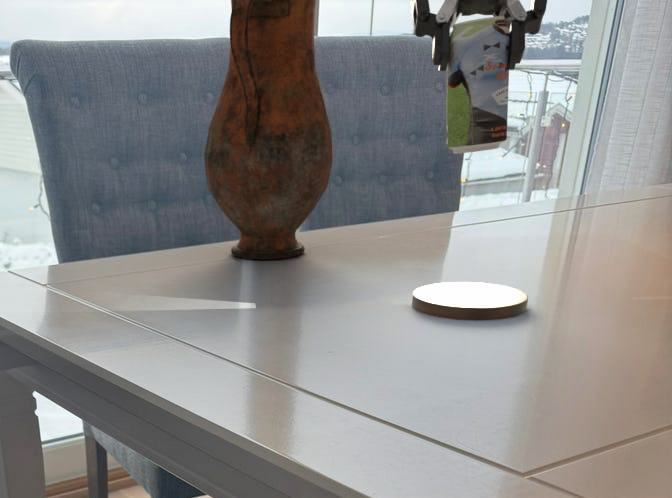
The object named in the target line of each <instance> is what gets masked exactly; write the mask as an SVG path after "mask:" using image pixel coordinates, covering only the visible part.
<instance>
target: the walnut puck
mask: <svg viewBox="0 0 672 498" xmlns="http://www.w3.org/2000/svg"><path fill="white" fill-rule="evenodd" d="M411 299H412V300H411V307H412V309H414V310H415V311H417V312H419V313H422V314H424V315H427V316H431V317H436V318H441V319H449V320H456V321H457V320H458V321H496V320H505V319H511V318H515V317H518V316H521V315H523V314H524V313H526V311H527V307H528V301H529V295H528V294H527V293H526V292H524V291H523V290H520V289H517V288H514V287H512V286H511V287H510V286H508V285H507V286H506V285H501V284H495V283H487V282H473V281H472V282H471V281H455V282H454V281H453V282H440V283H432V284H427V285H424V286H423V285H422V286H421V287H418V288H416V289H415V290H413V293H412V298H411Z"/></svg>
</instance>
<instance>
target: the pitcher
mask: <svg viewBox="0 0 672 498" xmlns="http://www.w3.org/2000/svg"><path fill="white" fill-rule="evenodd" d="M316 2H317V0H230V6H231V7H230V8H231V13H230V19H229V44H230V45H229V46H230V50H229V60H228V61H229V62H228V69H227V73H226V76H225V79H224V83H223V86H222V89H221V92H220V95H219V98H218V101H217V104H216V106H215V110H214V113H213V115H212V117H211V120H210V124H209V126H208V131H207V137H206V143H205V149H204V154H203V158H204V159H203V161H204V169H205V179H206V187H207V189H208V190H209V192H210V193H211V195H212V197H213V199H214V200H215V202H216V204H217V205H218V207H219V209H220V210H221V212H222V213H223V214H224V215H225V216H226V217H227V219H228V220H229V221H230V222H231V223H232V224H233V225H234V226H235V228H236V229H237V231H239V233H240V238H239V239H238V242H237V243H235V244H233V245H232V246H231V249H230V252H231V255H232V254H233V255H232V256H234V255H235V256H238V257H237V258H239V257H241V258H240V259H243V258H246V259H245V260H249V259H259V260H258V261H277V260H276V259H278V260H286V259H291V258H294V257H298V256H300V255H302V254H303V253H304V252H305V250H306V249H305V245H304V244H303V243H302V242H300V241H299V240H298V239H297V237H296V233H297V230H298V229H299V228H300V227H301V226H302V225H303V224H304V222H305V221H306V220H307V218H308V217H309V216H310V215H311V214H312V213H313V211H314V210H315V208H316V206H317V205H318V203H319V202H320V200H321V198H322V196H323V195H324V193H325V192H326V190H327V188H328V186H329V180H330V175H331V171H332V166H333V161H334V150H333V138H332V137H333V136H332V127H331V122H330V118H329V114H328V108H327V104H326V99H325V96H324V93H323V89H322V85H321V83H320V79H319V76H318V72H317V68H316V54H315V53H316V52H315V37H314V36H315V15H316V14H315V12H316ZM297 255H298V256H297ZM235 256H234V257H235ZM290 257H291V258H290ZM285 258H286V259H285Z"/></svg>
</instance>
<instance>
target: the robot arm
mask: <svg viewBox="0 0 672 498" xmlns="http://www.w3.org/2000/svg"><path fill="white" fill-rule="evenodd" d="M409 2H410V9H411V15H412V17H411V18H412V23H413V32H414V36H415V37H417V38H423V37H425V36H429V37H430V38H431V39H432V57H431V60H432V63H433V65H434V66H438V72H447V64H448V59H449V41H450V35H451V29H453V25H454V24H457V23H456V22H457V21H458V19H459V17H460V16H461V17H469V16H474V15H482V16H492V17H500V16H502V17H505V19H504V21H505V24H506V25H507V27H508V28H509V31H510V46H509V57H508V68H507V69H508V70H509V71H512V70H515V69H516V65H517V64H518V65H519V64H520V63H521V62H522V60H523V56H524V53H525V49H526V34H529V35H537V34H538V33H540V30H541V27H542V22H543V18H544V16H545V14H546V10H547V4H548V0H531V5H530V9H529V10H526V9H525V8H524V6H523V4H522V2H521V1H520V0H444V1H443V3H442V5H441V7H440V8H439V10H438V11H437V13H433V12H431V8H430V1H429V0H409Z"/></svg>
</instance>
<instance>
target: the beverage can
mask: <svg viewBox="0 0 672 498" xmlns="http://www.w3.org/2000/svg"><path fill="white" fill-rule="evenodd" d="M504 19H505V17H502V16H500V17H493V16H489V17H483V18H475V19H470V20H466V21H462V22H461V21H460V22H457V23H455V24H454V25H453V27H452V31H451V32H450V41H449V59H448V64H447V69H446V100H445V101H446V109H445V110H446V113H445V114H446V115H445V116H446V117H445V118H446V119H445V121H446V122H445V123H446V125H445V126H446V128H445V141H446V142H445V147H446V148H447V149H450V150H452V153H453V154H454V155H455V154H457V155H458V154H467V153H468V154H469V153H475V152H476V153H477V152H484V151H491V150H498V149H499V148H500V145H501V144H502V143H504V142H506V141H507V139H508V116H509V115H508V112H509V111H508V110H509V83H510V82H509V80H510V70H508V69H507V68H508V57H509V46H510V31H509V28H508V27H507V25H506V24H505V21H504Z"/></svg>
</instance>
